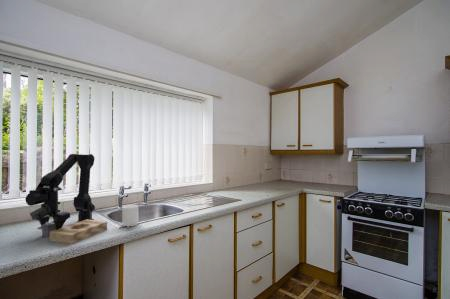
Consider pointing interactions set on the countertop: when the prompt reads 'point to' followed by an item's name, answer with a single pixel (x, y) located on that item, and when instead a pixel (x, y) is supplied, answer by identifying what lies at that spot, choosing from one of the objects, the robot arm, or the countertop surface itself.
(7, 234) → the countertop surface
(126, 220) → the mug
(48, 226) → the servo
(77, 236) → the chassis board
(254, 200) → the countertop surface
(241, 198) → the countertop surface
